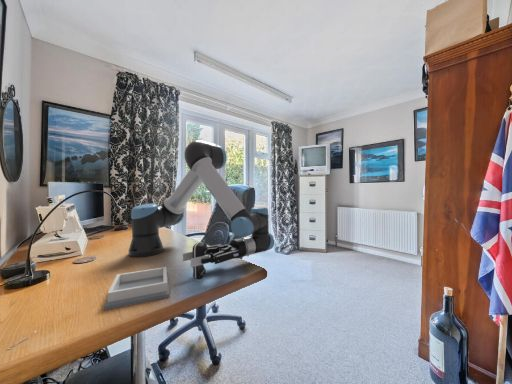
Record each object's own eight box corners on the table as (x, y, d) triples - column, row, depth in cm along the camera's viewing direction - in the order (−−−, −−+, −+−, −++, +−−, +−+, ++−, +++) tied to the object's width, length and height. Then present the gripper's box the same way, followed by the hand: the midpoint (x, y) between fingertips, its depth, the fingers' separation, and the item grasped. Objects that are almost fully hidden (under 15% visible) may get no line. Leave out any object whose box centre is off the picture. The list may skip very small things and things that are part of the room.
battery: (203, 279, 76) (202, 246, 75) (192, 279, 76) (191, 246, 75) (208, 271, 83) (208, 240, 82) (198, 271, 83) (197, 241, 82)
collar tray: (116, 282, 74) (116, 272, 74) (167, 274, 81) (167, 264, 81) (104, 310, 58) (103, 297, 58) (169, 296, 64) (169, 285, 64)
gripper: (257, 262, 83) (199, 280, 69) (229, 250, 98) (177, 263, 84) (256, 243, 82) (198, 256, 68) (229, 234, 98) (177, 243, 84)
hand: (187, 260), depth 76 cm, fingers closed on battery, 7 cm apart
